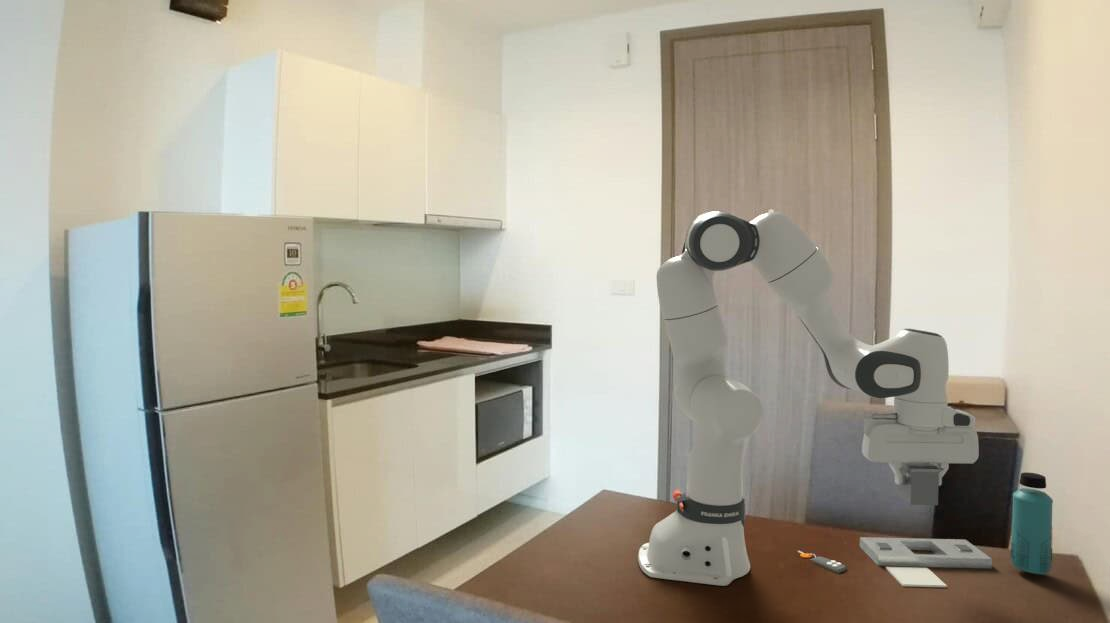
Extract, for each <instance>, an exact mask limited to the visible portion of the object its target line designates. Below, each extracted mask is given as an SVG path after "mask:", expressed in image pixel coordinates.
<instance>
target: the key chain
mask: <svg viewBox="0 0 1110 623" xmlns="http://www.w3.org/2000/svg"><path fill="white" fill-rule="evenodd" d="M797 552H798V553H799V554H800V555H799V556H800V558H805V559H809V558H810V559H809V560H811V562H813V564H815V565H817V566H819V567H822V568H824V569H825V570H829V571H830V572H833V573H836V574H840V573H843V572H845V571H846V570H847V566H846V565H845V564H843V563H842V562H839V561H838V562H837V561H836V560H832V559H829V558H826V557H823V556H821V555H820V556H819V555H818V556H817V555H816V554H815V553H807V552H806V553H804V552H803V551H801V550H797ZM813 556H814V558H812V557H813Z"/></svg>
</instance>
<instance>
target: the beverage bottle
mask: <svg viewBox="0 0 1110 623" xmlns="http://www.w3.org/2000/svg"><path fill="white" fill-rule="evenodd" d="M1046 480H1047V479H1046V476H1044V475H1042V474H1039V473H1036V472H1035V473H1034V472H1029V471H1028V472H1021V473H1020V477H1019V484H1020V485H1021V486H1024V487H1025V488H1023V487H1022V488H1020V489H1017V490H1016V491H1014V492H1013V493H1012V514H1011V520H1012V521H1011V530H1010V533H1011V534H1010V536H1011V541H1010V556H1009V557H1010V561H1011V564H1012V566H1014V567H1015V568H1016V569H1018V570H1020V571H1022V572H1027V573H1029V574H1035V575H1046V574H1047V575H1048V574H1049V573H1050V572H1051V570H1052V568H1053V566H1052V565H1053V547H1052V546H1053V541H1054V540H1053V536H1054V535H1053V533H1054V532H1053V529H1054V528H1053V504H1054V500H1053V498H1052V497H1051V496H1050V495H1049V494H1048V493H1046V492H1045V491H1042V490H1043V489H1047V482H1046ZM1038 489H1039V490H1038ZM1041 489H1042V490H1041Z"/></svg>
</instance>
